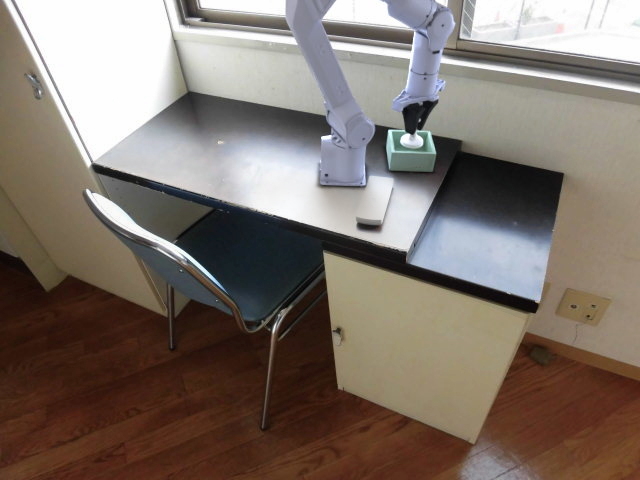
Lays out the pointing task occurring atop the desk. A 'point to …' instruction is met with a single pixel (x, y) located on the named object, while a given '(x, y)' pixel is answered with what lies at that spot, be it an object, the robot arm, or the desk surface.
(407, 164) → the open storage box
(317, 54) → the robot arm
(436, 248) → the desk surface
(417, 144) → the chess piece
